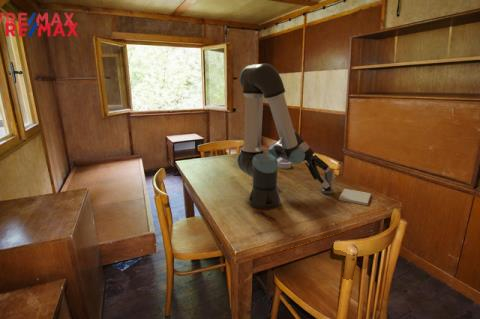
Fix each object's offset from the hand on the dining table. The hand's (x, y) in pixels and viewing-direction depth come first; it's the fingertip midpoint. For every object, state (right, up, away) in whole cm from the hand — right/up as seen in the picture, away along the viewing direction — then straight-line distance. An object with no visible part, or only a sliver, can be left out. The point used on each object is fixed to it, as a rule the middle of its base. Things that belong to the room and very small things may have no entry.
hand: (331, 182), depth 141 cm
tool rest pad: (+10, -7, -5) cm, 13 cm away
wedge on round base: (-17, +8, +47) cm, 51 cm away
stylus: (-2, -5, +2) cm, 6 cm away
